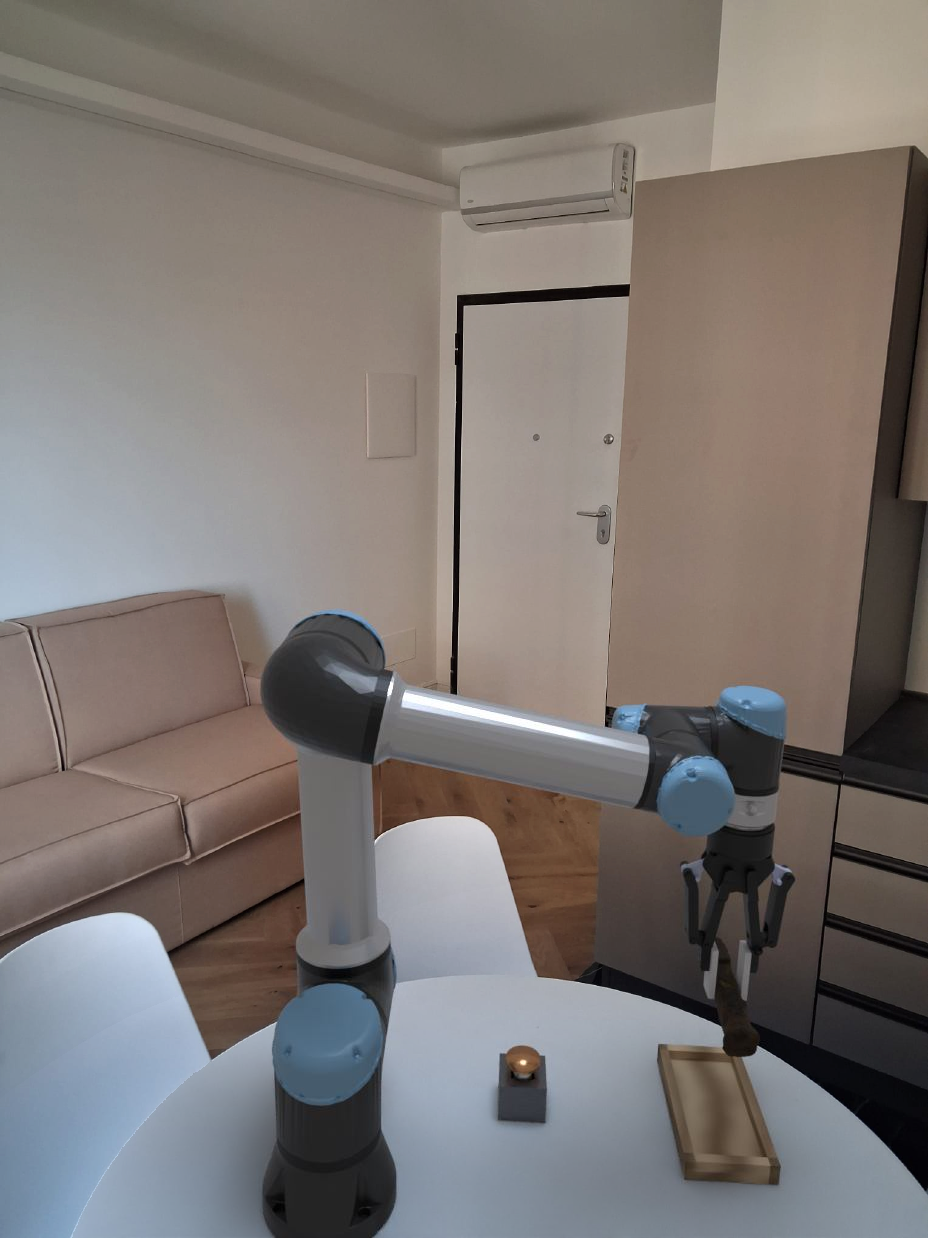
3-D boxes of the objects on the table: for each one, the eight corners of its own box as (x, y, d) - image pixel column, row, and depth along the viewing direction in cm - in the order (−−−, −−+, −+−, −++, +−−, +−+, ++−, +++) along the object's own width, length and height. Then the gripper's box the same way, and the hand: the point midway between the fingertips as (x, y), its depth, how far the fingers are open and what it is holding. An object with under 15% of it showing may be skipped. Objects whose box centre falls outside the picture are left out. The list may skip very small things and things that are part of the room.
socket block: (497, 1120, 114) (499, 1086, 113) (498, 1085, 120) (499, 1053, 119) (545, 1123, 114) (546, 1089, 113) (543, 1088, 120) (545, 1055, 119)
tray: (683, 1179, 106) (685, 1161, 106) (657, 1060, 126) (658, 1044, 125) (778, 1185, 106) (780, 1166, 105) (736, 1064, 125) (738, 1048, 124)
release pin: (504, 1114, 115) (505, 1068, 114) (504, 1089, 119) (506, 1044, 118) (538, 1116, 115) (541, 1070, 113) (537, 1091, 119) (539, 1046, 118)
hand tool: (758, 1062, 102) (761, 1026, 101) (722, 1058, 103) (725, 1023, 102) (732, 962, 120) (735, 931, 119) (701, 960, 121) (704, 929, 120)
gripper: (677, 829, 103) (663, 1009, 108) (823, 835, 102) (801, 1016, 107) (666, 801, 110) (653, 971, 115) (802, 806, 109) (782, 977, 115)
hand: (724, 992), depth 111 cm, fingers closed on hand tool, 3 cm apart
